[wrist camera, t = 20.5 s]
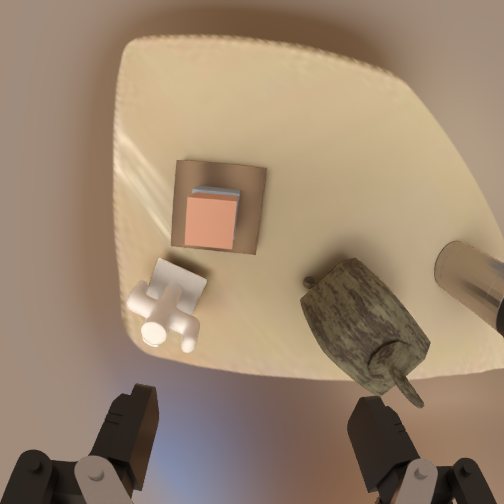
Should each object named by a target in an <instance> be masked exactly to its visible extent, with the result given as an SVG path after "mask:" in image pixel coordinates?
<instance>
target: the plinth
mask: <svg viewBox="0 0 504 504" xmlns="http://www.w3.org/2000/svg"><path fill="white" fill-rule="evenodd" d="M266 169H267V168H260V167H252V166H243V165H234V164H223V163H212V162H200V161H186V160H177V164H176V174H175V186H174V199H173V214H172V233H171V246H175V247H184V248H194V249H204V250H214V251H223V252H233V253H243V254H253V255H256V248H257V240H258V232H259V225H260V217H261V209H262V201H263V193H264V185H265V177H266ZM197 186H210V187H220V188H229V189H238V190H240V196H239V204H238V213H237V221H236V230H235V238H234V240H233V246H232V249H222V248H212V247H201V246H191V245H185V227H186V211H187V197H189V196H190V195H192V190H193V189H194V188H196V187H197Z"/></svg>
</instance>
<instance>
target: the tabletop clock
mask: <svg viewBox="0 0 504 504" xmlns="http://www.w3.org/2000/svg"><path fill="white" fill-rule="evenodd" d="M304 286H305V287H306V288H311V287H313V288H312V289H311V290H310V291H309V292H308V293H307V294H306V295H305V296H304V297H302V298H301V300H300V301H301V306H302V309H303V312H304V315H305V317H306V320H307V322H308V324H309V326H310V328H311V331H312V333H313V335H314V337H315V338H316V340H317V342H318V344H319V345H320V347H321V348H322V350H323V352H324V353H325V354H326V355H327V356H328V357H329V358H330V359H331V360H332V361H333V362H334V363H335V364H336V365H337V366H338V367H339V368H340V369H342V370H343V371H344V372H345V373H346V374H347V375H349V376H350V377H351V378H352V379H353V380H355V381H356V382H357V383H358V384H360V385H361V386H363V387H364V388H365V389H367V390H368V391H369V392H371V393H372V394H374V395H376V396H379V397H381V396H382V395H383V394H384V393H386V392H387V391H388V390H390V389H391V388H392V387H393V386H395V385H397V386H398V388H399V389H400V390H401V392H402V393H403V394H404V395H405V396H406V398H407V399H408V400H409V401H410V402H412V404H414V405H415V406H416V407H418V408H422V407H424V403H423V401H422V400H421V398H420V397H419V395H418V394H417V393H416V391H415V389H414V388H413V387H412V385H411V384H410V383H409V382H408V379H407V378H406V375H408V374H409V373H410V372H411V371H412V370H413V369H414V368H416V367H417V366H418V365H419V364H420V363H421V362H422V361H423V360H424V359H425V357H426V354H427V352H428V349H429V346H430V341H429V339H428V338H427V336H426V335H425V334H424V332H423V331H422V329H421V328H420V327H419V325H418V324H417V323H416V321H415V320H414V319H413V317H412V316H411V315H410V313H409V312H408V311H407V310H406V308H405V307H404V306H403V305H402V303H401V302H400V301H399V300H398V298H397V297H396V296H395V295H394V294H393V293H392V291H391V290H390V289H389V288H388V287H387V286H386V285H385V284H384V283H383V282H382V281H381V280H380V279H379V278H378V277H376V276H375V275H374V274H373V273H372V272H371V271H370V270H369V269H368V268H367V267H366V266H364V265H363V264H362V263H361V262H360V261H359V260H358V259H356V258H353V259H349V260H345V261H341V262H340V263H339V264H337V265H336V266H335V267H334V268H333V269H332V270H331V271H330V272H329V273H328V274H327V275H326V276H325V277H324V278H323V279H322V280H321V281H320V282H319V283H318V284H315V283H314V280H313V279H312V278H310V277H308V278H306V279H305V280H304Z"/></svg>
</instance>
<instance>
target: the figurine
mask: <svg viewBox="0 0 504 504" xmlns="http://www.w3.org/2000/svg"><path fill="white" fill-rule="evenodd" d="M207 281H208V280H207V279H205V278H203V277H201V276H199V275H197V274H195V273H193V272H191V271H189V270H186V269H184V268H182V267H180V266H178V265H176V264H173V263H171V262H169V261H166V260H164V259H161V258H159V259H158V261H157V264H156V267H155V269H154V272H153V275H152V277H151V280H150V283H149V286H148V284H147V282H146V281H144V280H141V281H139V282H138V283H137V285H136V286H135V287H134V288H133V290H132V291H131V292H130V294H129V296H128V298H127V301H126V305H127V307H128V309H129V310H131V311H133V312H135V313H137V314H139V315H141V316H143V317H145V318H147V319H146V321H145V322H144V324H143V326H142V328H141V333H142V336H143V340H144V342H145V343H147V344H148V345H150V346H154V347H157V346H159V345H160V344H161V343H163V342H164V341H165V340H166V338H167V335H168V332H169V329H171V330H174V331H176V332H178V333H180V334H181V335H182V336H183V338H182V342H181V349H182V351H183V352H185V353H190V352H192V351H193V350H194V348H195V346H196V343H197V339H198V334H199V329H200V323H199V320H198V319H197V318H195V317H194V316H191V315H192V313H193V311H194V309H195V306H196V304H197V302H198V300H199V298H200V296H201V294H202V292H203V289H204V287H205V285H206V283H207Z"/></svg>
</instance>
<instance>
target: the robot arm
mask: <svg viewBox="0 0 504 504" xmlns="http://www.w3.org/2000/svg"><path fill="white" fill-rule="evenodd" d="M435 279H436V282H437V284H438V285H439V286H440V287H441V288H443V289H444V290H445V291H447V292H448V293H449V294H451V295H452V296H453V297H455V298H456V299H457V300H459V301H460V302H461V303H462V304H464V305H465V306H466V307H468V308H469V309H470V310H471V311H473V312H474V313H475V314H476V315H478V316H479V317H480V318H481V319H483V320H484V321H485V322H486V323H488V324H489V325H490V326H491V327H493V328H494V329H495V330H496V331H497V332H499V333H500V334H501V335H502V336H503V338H504V263H502V262H500V261H499V260H497V259H495V258H493V257H491V256H489V255H487V254H485V253H483V252H481V251H479V250H477V249H475V248H473V247H471V246H469V245H466V244H464V243H462V242H459V241H455V242H452V243H450V244H448V245H447V246H446V247H445V248H444V249H443V250H442V252H441V253H440V255H439V257H438V259H437V262H436V266H435ZM158 422H159V408H158V401H157V392H156V388H155V387H153V386H148V385H143V384H138V383H137V384H135V386H134V388H133V390H132V393H131V395H127V394H121V395H120V396H118V397H117V398H116V399H115V400H114V401H113V402H112V404H111V406H110V409H109V411H108V414H107V415H106V418H105V422H104V423H103V425H102V427H101V429H100V432H99V434H98V436H97V439H96V441H95V443H94V446H93V448H92V451H91V452H90V454H89V455H88V456H86V457H84V458H82V459H80V460H79V461H76V462H65V461H56V460H50V458H49V457H48V456H47V455H46V454H45V453H43V452H41V451H39V450H28V451H25V452H24V453H22V454H21V455H20V457H19V459H18V461H17V463H16V465H15V468H14V470H13V472H12V474H11V477H10V479H9V482H8V484H7V487H6V489H5V492H4V494H3V497H2V499H1V502H0V504H133V502H132V500H131V497H132V493H133V489H134V490H139V491H142V488H143V483H144V479H145V475H146V471H147V466H148V462H149V458H150V454H151V450H152V446H153V442H154V438H155V434H156V430H157V427H158ZM405 430H406V429H405V428H404V426H403V425H402V422H401V420H400V418H399V416H398V414H397V413H396V412H395V411H393V410H392V409H391V408H390V407H389V406H385V405H384V403H383V401H382V399H381V398H380V397H379V396H369V397H361V398H360V399H359V401H358V403H357V405H356V407H355V409H354V411H353V413H352V415H351V417H350V419H349V421H348V425H347V431H348V435H349V438H350V441H351V443H352V446H353V449H354V452H355V455H356V458H357V461H358V464H359V467H360V470H361V473H362V476H363V478H364V482H365V484H366V488H367V490H368V493H370V492H375V491H378V492H379V496H378V497H377V499H376V501H375V504H453V502H452V500H453V499H454V498H455V499H456V502H457V504H497V503H496V501H495V499H494V497H493V494H492V492H491V490H490V488H489V486H488V484H487V482H486V480H485V478H484V476H483V474H482V472H481V470H480V468H479V467H478V465H477V463H476V462H475V461H473V460H472V459H470V458H461V459H459V460H458V461H457V462H456V463H455V464H454V465H453V466H440V467H439V466H435V465H434V464H433V463H432V462H431V461H429V460H427V459H421V458H420V456H419V455H418V453H417V451H416V449H415V447H414V445H413V443H412V441H411V439H410V437H409V436H408V434H407V432H406V431H405Z"/></svg>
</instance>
